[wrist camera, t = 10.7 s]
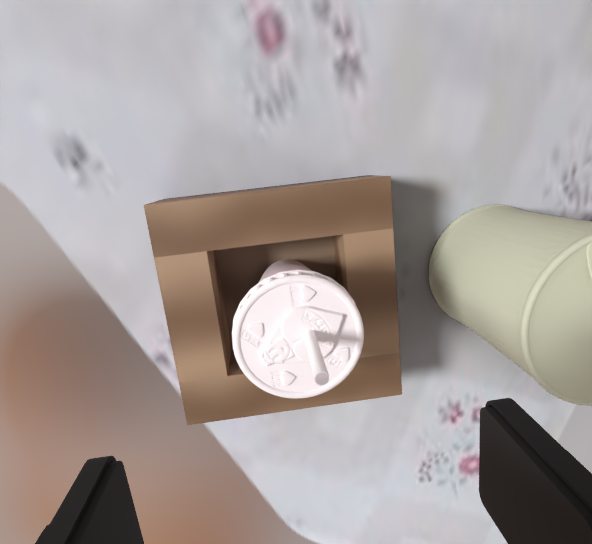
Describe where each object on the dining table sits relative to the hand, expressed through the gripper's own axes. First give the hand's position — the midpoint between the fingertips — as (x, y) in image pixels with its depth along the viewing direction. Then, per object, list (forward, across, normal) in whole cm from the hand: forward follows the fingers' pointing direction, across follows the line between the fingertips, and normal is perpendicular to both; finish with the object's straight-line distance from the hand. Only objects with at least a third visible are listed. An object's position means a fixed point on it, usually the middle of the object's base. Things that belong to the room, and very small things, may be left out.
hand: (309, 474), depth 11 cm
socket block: (+20, 0, +1) cm, 20 cm away
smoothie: (+19, 0, +1) cm, 19 cm away
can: (+20, -16, +2) cm, 25 cm away
